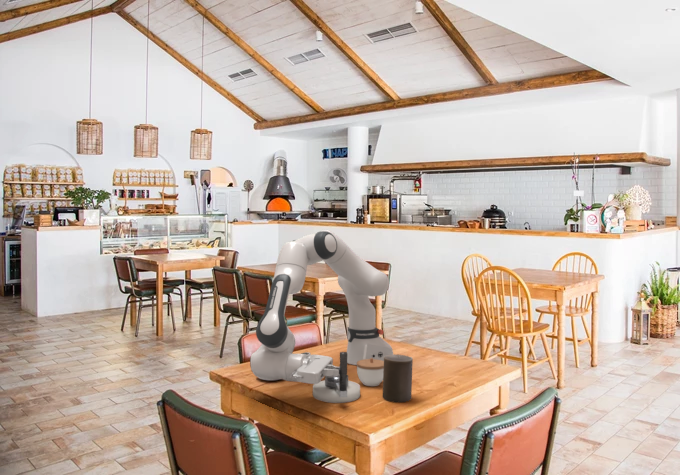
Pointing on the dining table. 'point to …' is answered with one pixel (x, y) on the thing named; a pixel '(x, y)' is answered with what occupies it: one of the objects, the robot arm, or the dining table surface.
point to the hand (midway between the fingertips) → (340, 371)
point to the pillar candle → (397, 378)
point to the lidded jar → (370, 371)
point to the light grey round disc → (335, 393)
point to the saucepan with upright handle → (339, 377)
